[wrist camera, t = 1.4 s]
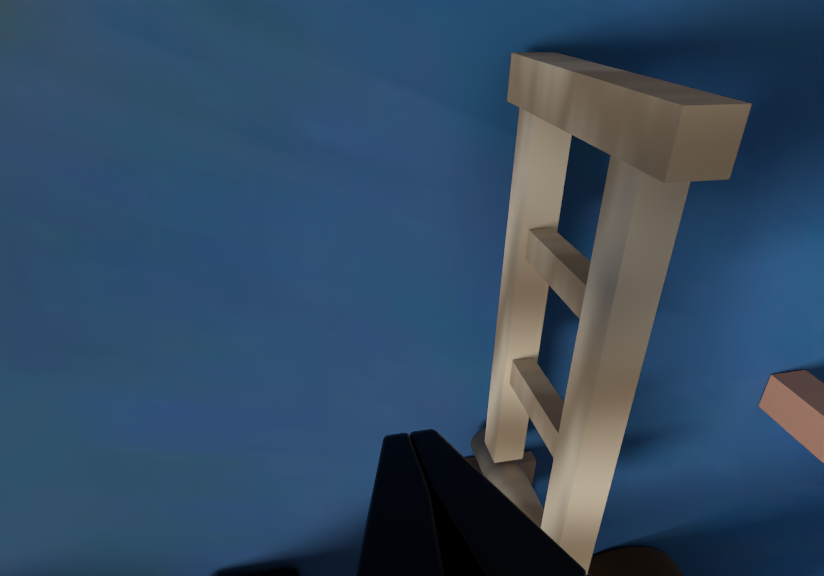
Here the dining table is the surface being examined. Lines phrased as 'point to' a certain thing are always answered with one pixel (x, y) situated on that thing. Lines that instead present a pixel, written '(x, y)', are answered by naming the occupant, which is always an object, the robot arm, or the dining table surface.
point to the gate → (590, 271)
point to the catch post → (797, 407)
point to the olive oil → (633, 563)
